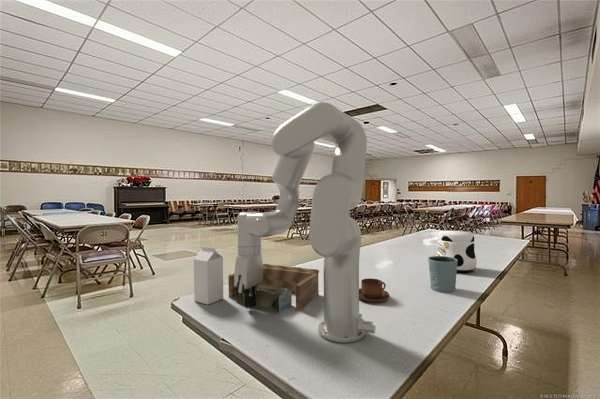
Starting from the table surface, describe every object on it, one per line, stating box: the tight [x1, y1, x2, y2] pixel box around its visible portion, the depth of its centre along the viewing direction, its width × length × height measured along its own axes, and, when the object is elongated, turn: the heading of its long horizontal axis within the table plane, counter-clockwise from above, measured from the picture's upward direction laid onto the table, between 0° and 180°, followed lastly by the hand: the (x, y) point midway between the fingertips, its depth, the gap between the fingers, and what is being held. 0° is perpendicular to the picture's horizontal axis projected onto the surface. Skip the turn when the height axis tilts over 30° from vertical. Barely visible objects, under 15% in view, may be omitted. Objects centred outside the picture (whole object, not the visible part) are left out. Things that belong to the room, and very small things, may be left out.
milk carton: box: [193, 245, 224, 306], centre depth 103 cm, size 7×7×19 cm
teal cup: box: [427, 255, 458, 294], centre depth 112 cm, size 10×10×12 cm
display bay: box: [227, 262, 320, 311], centre depth 107 cm, size 29×16×9 cm, turn 64°
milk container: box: [435, 230, 478, 273], centre depth 141 cm, size 17×17×18 cm
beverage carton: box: [235, 283, 293, 314], centre depth 99 cm, size 8×19×6 cm, turn 59°
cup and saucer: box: [359, 278, 390, 303], centre depth 104 cm, size 12×12×6 cm
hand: (250, 306), depth 94 cm, fingers closed
